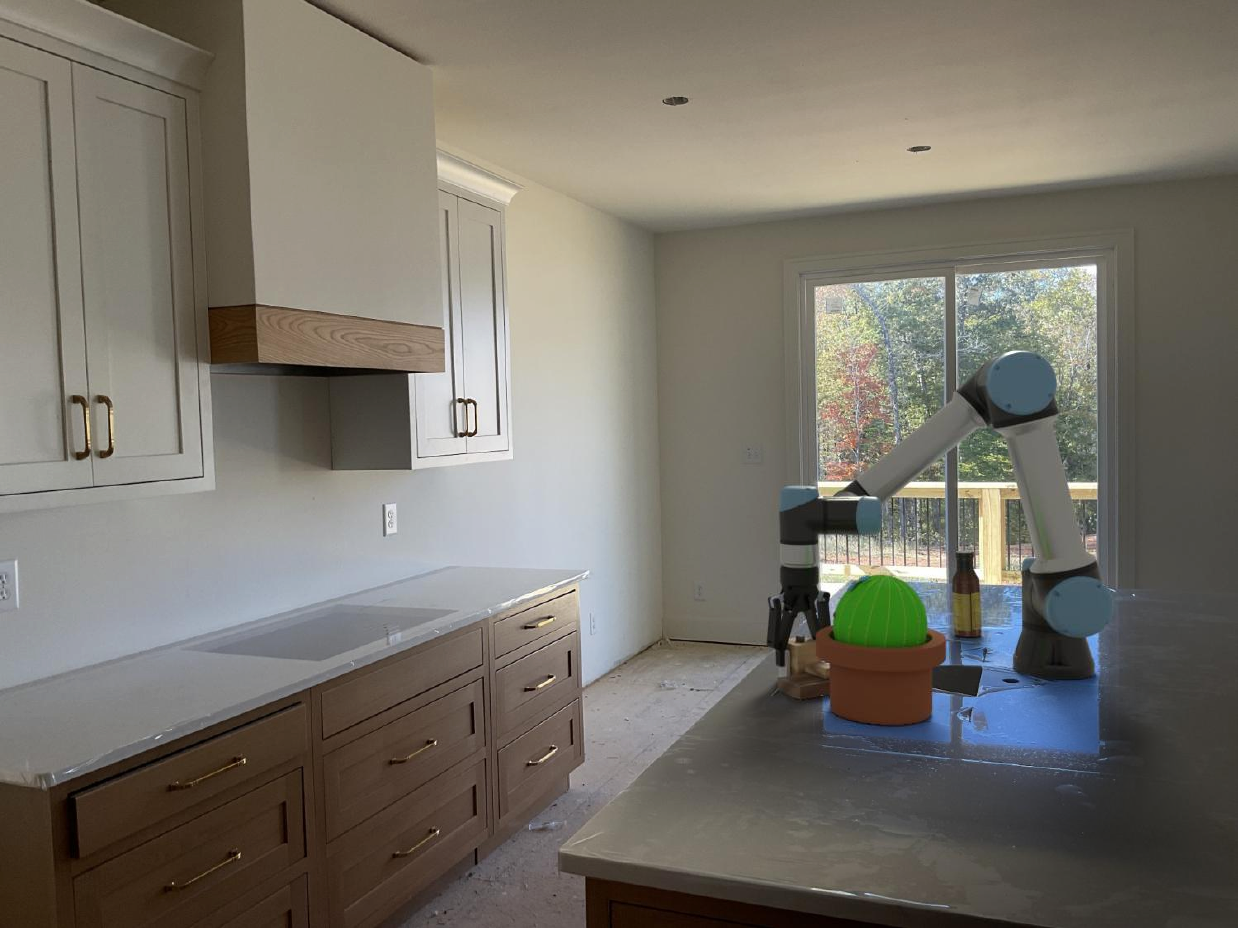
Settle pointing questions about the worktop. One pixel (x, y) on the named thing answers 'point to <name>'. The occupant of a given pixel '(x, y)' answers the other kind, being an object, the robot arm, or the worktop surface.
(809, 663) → the tan wooden block
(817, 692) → the board
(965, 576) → the sauce bottle
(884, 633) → the potted cactus
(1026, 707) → the worktop surface
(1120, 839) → the worktop surface
